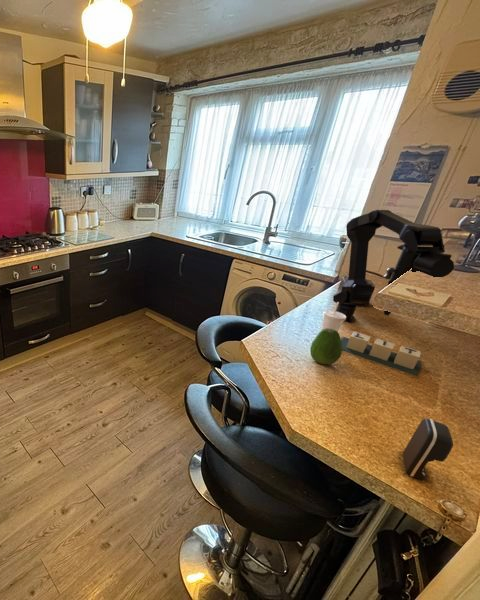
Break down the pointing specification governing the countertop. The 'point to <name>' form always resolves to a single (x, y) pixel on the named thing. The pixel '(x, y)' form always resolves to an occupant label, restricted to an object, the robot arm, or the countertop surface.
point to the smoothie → (333, 319)
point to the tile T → (407, 357)
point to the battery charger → (426, 447)
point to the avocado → (326, 347)
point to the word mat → (388, 363)
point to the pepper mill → (345, 279)
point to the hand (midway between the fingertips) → (388, 310)
